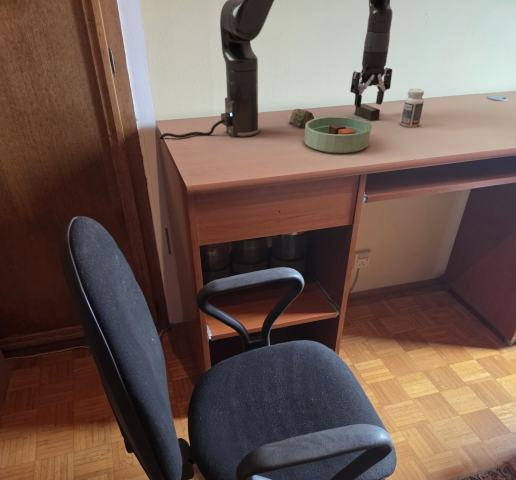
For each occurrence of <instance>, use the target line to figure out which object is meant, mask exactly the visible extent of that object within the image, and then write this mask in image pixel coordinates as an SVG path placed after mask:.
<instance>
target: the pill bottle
mask: <svg viewBox="0 0 516 480" xmlns="http://www.w3.org/2000/svg"><path fill="white" fill-rule="evenodd" d="M424 94H425V90H424V89H420V88H410V89H408V91H407V97H406V98H405V100H404V103H403V110H402V115H401V119H400V124H401V125H402V126H403V127H407V128H414V127H415V128H416V127H418V126H420V122H421V117H422V111H423V107H424V101H425V100H424V98H423V96H424Z"/></svg>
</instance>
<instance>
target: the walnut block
mask: <svg viewBox="0 0 516 480" xmlns="http://www.w3.org/2000/svg"><path fill="white" fill-rule="evenodd" d="M345 128H346V127H345V126H343V125H341V124H335V125H329V133H328V134H336V135H338V130H340V129H345Z"/></svg>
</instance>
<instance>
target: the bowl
mask: <svg viewBox="0 0 516 480" xmlns="http://www.w3.org/2000/svg"><path fill="white" fill-rule="evenodd" d="M335 124H341V125H343V126H345V127H346V128H345V129H347V128H349V129H351V130H354V131H356V132H355V134H347V135H336V134H328V133H329V125H335ZM371 133H372V125H371V124H370V123H368V122H367V121H364V120H363V119H359V118H353V117H347V116H346V117H345V116H322V117H317V118H314V119H312V120H310V121H308V122H307V123H306V124H305V126H304V139H303V140H304V141H303V142H304V144H305V145H306V146H308V147H310V148H311V149H314V150H316V151H319V152H323V153H328V154H350V153H356V152H359V151H362V150H363V149H366V148H367V147H368V146H369V144H370V140H371Z"/></svg>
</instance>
